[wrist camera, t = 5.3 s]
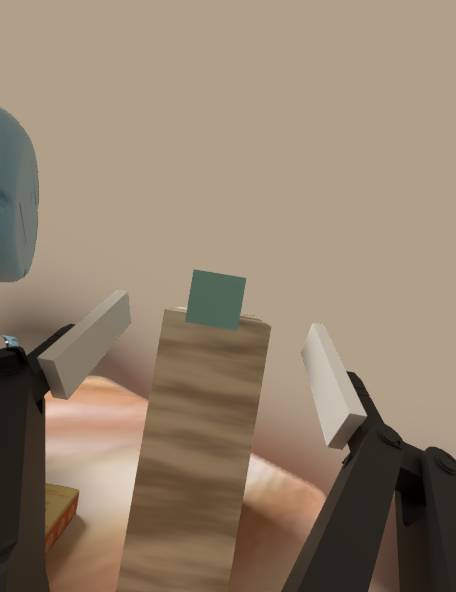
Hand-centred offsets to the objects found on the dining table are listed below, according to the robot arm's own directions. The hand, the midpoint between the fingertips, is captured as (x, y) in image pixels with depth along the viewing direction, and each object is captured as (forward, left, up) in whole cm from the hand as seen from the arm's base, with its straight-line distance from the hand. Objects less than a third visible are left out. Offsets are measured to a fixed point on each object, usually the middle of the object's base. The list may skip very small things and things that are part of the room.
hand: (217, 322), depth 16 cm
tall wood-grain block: (-16, +8, -34) cm, 39 cm away
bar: (-10, +4, 0) cm, 11 cm away
